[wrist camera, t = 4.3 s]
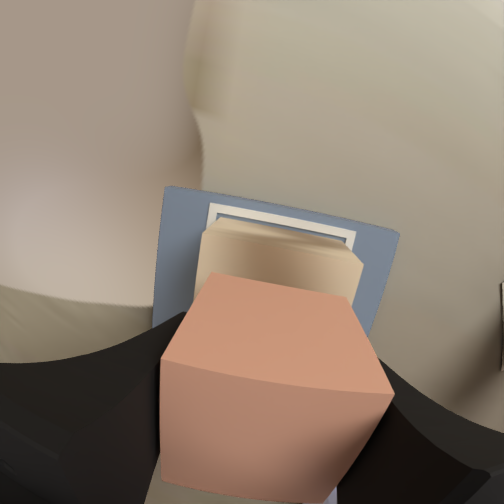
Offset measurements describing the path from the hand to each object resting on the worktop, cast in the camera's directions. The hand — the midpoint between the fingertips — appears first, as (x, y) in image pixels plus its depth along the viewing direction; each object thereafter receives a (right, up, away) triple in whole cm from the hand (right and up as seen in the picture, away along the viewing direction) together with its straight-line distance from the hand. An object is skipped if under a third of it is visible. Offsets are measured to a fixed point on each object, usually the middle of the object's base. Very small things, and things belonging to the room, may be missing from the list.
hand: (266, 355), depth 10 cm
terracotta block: (0, 0, +1) cm, 1 cm away
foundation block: (0, +2, +6) cm, 6 cm away
